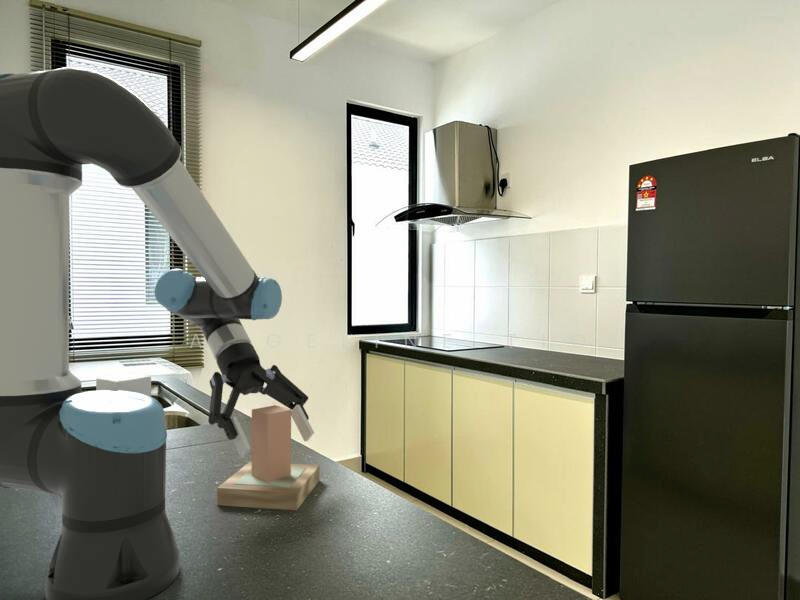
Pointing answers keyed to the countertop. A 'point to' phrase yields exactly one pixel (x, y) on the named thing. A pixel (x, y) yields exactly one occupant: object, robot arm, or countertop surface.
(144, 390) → the supplement box
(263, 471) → the tall block
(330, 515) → the countertop surface
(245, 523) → the countertop surface
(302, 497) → the oak picture frame
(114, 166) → the robot arm
